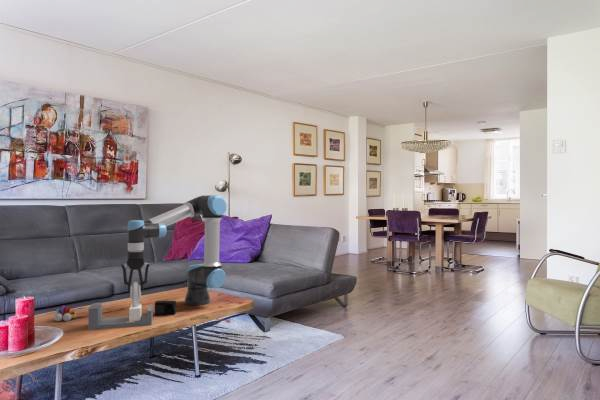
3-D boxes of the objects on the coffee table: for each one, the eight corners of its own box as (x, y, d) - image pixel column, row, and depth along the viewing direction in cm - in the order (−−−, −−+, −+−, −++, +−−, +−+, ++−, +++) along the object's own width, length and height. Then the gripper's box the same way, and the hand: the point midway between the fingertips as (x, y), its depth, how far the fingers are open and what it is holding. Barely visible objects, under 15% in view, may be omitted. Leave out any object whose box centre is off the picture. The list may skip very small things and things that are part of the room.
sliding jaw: (141, 315, 210) (141, 280, 211) (140, 320, 202) (140, 283, 202) (131, 316, 209) (131, 281, 209) (129, 321, 200) (129, 284, 201)
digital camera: (153, 316, 218) (153, 303, 218) (156, 313, 224) (156, 300, 224) (174, 315, 220) (174, 302, 220) (175, 313, 225) (175, 300, 225)
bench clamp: (152, 318, 213) (152, 299, 214) (151, 325, 202) (151, 304, 202) (93, 323, 205) (93, 303, 205) (88, 330, 194) (88, 308, 194)
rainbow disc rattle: (71, 321, 209) (71, 307, 209) (51, 322, 207) (51, 308, 207) (78, 317, 217) (78, 303, 217) (58, 318, 215) (58, 304, 216)
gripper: (153, 249, 212) (153, 295, 212) (119, 250, 207) (119, 297, 207) (152, 251, 205) (152, 298, 204) (117, 252, 200) (116, 300, 200)
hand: (135, 297), depth 206 cm, fingers closed on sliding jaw, 3 cm apart
